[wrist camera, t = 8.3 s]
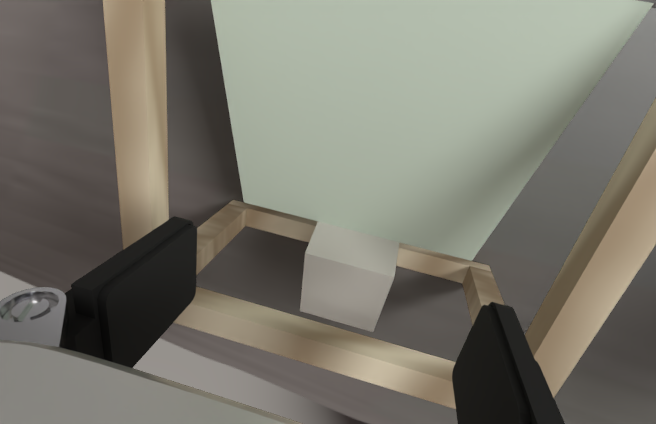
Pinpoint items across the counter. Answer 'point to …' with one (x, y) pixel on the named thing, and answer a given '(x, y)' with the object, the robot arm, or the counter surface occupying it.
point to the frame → (478, 282)
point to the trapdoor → (408, 105)
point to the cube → (347, 275)
